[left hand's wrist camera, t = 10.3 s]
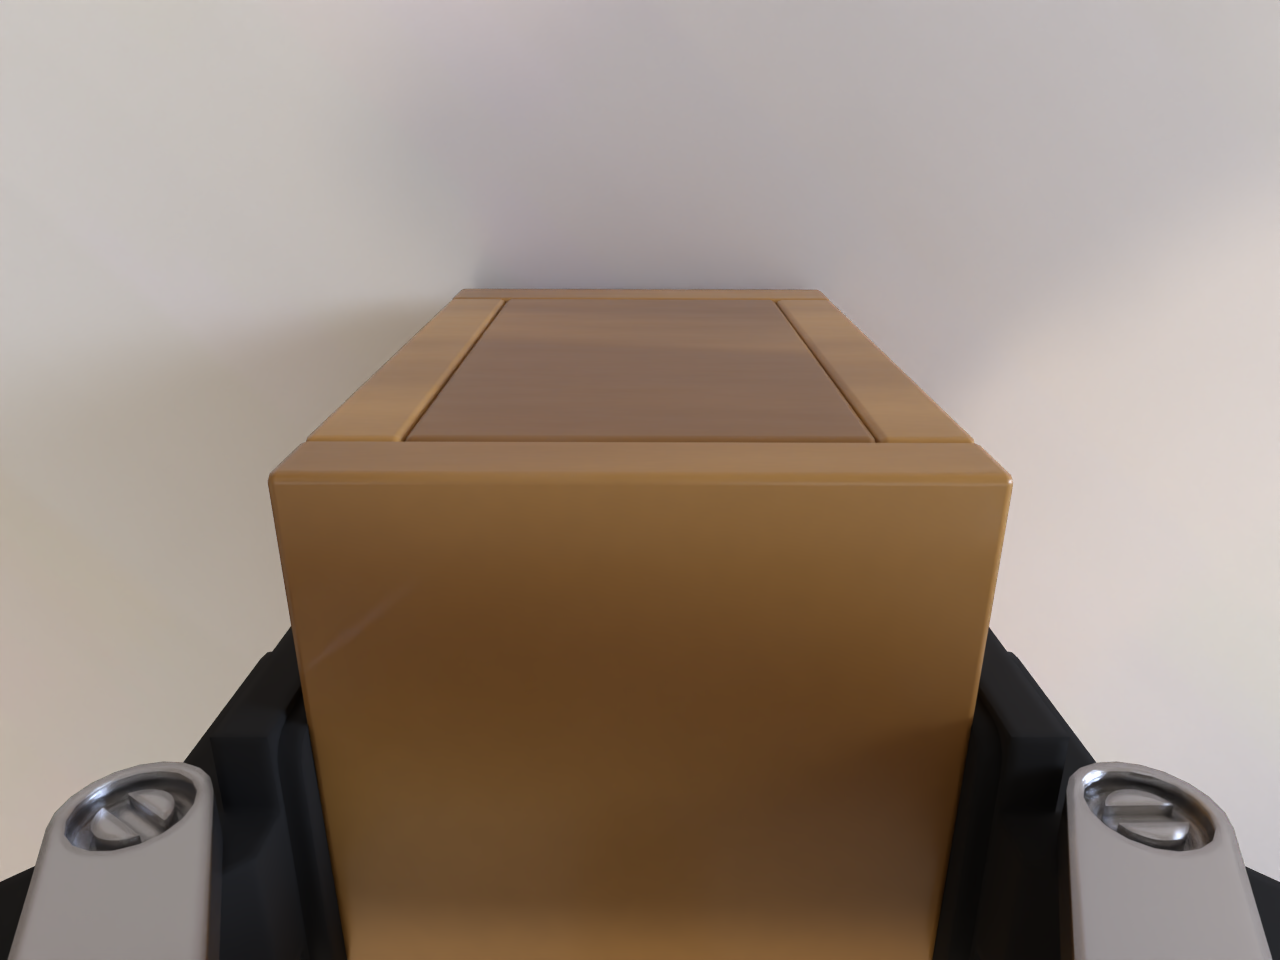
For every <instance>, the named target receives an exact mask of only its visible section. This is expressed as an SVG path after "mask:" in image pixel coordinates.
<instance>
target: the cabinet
mask: <svg viewBox="0 0 1280 960" xmlns="http://www.w3.org/2000/svg"><path fill="white" fill-rule="evenodd" d="M268 486H269V492H270V498H271V505H272V511H273V517H274V523H275V529H276V535H277V541H278V547H279V553H280V559H281V565H282V571H283V578H284V584H285V590H286V596H287V602H288V608H289V614H290V620H291V626H292V632H293V638H294V645H295V651H296V657H297V663H298V669H299V675H300V681H301V687H302V693H303V699H304V705H305V711H306V718H307V724H308V728H309V734H310V740H311V746H312V752H313V758H314V764H315V770H316V776H317V782H318V788H319V794H320V800H321V806H322V812H323V818H324V824H325V830H326V836H327V842H328V848H329V854H330V860H331V866H332V872H333V878H334V884H335V890H336V896H337V902H338V908H339V914H340V920H341V926H342V932H343V938H344V944H345V950H346V956H347V960H932V958H933V952H934V946H935V940H936V934H937V928H938V922H939V916H940V911H941V905H942V899H943V893H944V887H945V881H946V875H947V869H948V864H949V858H950V852H951V846H952V840H953V834H954V828H955V822H956V816H957V810H958V804H959V798H960V792H961V786H962V780H963V774H964V768H965V762H966V756H967V750H968V744H969V738H970V732H971V726H972V722H973V716H974V711H975V705H976V699H977V693H978V687H979V681H980V675H981V669H982V664H983V658H984V652H985V646H986V640H987V634H988V628H989V622H990V616H991V611H992V605H993V599H994V593H995V587H996V581H997V575H998V569H999V564H1000V558H1001V552H1002V546H1003V540H1004V534H1005V528H1006V522H1007V516H1008V511H1009V505H1010V499H1011V493H1012V487H1013V481H1012V477H1011V475H1010V474H1009V473H1008V472H1007V471H1006V470H1005V469H1004V468H1003V467H1002V466H1001V465H1000V464H999V463H998V462H997V461H996V460H994V459H993V458H992V457H991V456H990V455H989V454H988V453H987V452H986V451H985V450H984V449H983V448H982V447H981V446H979V445H977V444H975V443H974V440H973V438H972V437H971V436H970V435H969V434H967V433H966V432H965V431H964V430H963V429H962V428H961V427H960V426H959V425H958V424H957V423H956V422H955V421H954V420H953V419H952V418H951V417H950V416H949V415H948V414H947V413H946V412H945V411H944V410H943V409H941V408H940V407H939V406H938V405H937V404H936V403H935V402H934V401H933V400H932V399H931V398H930V397H929V396H928V395H927V394H926V393H925V392H924V391H923V390H922V389H921V388H920V387H919V386H918V385H917V384H915V383H914V382H913V381H912V380H911V379H910V378H909V377H908V376H907V375H906V374H905V373H904V372H903V371H902V370H901V369H900V368H899V367H898V366H897V365H896V364H895V363H894V362H893V361H892V360H891V359H889V358H888V357H887V356H886V355H885V354H884V353H883V352H882V351H881V350H880V349H879V348H878V347H877V346H876V345H875V344H874V343H873V342H872V341H871V340H870V339H869V338H868V337H867V336H866V335H865V334H863V333H862V332H861V331H860V330H859V329H858V328H857V327H856V326H855V325H854V324H853V323H852V322H851V321H850V320H849V319H848V318H847V317H846V316H845V315H844V314H843V313H842V312H841V311H840V310H838V309H837V308H836V307H835V306H834V305H833V304H832V303H831V302H830V301H829V299H828V298H827V297H826V296H825V295H824V294H823V293H822V292H820V291H819V290H679V289H463V290H461V291H460V292H459V293H458V294H457V295H456V296H455V297H454V298H453V300H451V301H450V302H449V303H448V304H447V305H446V306H445V307H444V308H443V309H442V310H441V311H440V312H439V313H438V314H437V315H436V316H434V317H433V318H432V319H431V320H430V321H429V322H428V323H427V324H426V325H425V326H424V327H423V328H422V329H421V330H420V331H419V332H418V333H417V334H416V335H415V336H413V337H412V338H411V339H410V340H409V341H408V342H407V343H406V344H405V345H404V346H403V347H402V348H401V349H400V350H399V351H398V352H397V353H396V354H395V355H393V356H392V357H391V358H390V359H389V360H388V361H387V362H386V363H385V364H384V365H383V366H382V367H381V368H380V369H379V370H378V371H377V372H376V373H375V374H374V375H372V376H371V377H370V378H369V379H368V380H367V381H366V382H365V383H364V384H363V385H362V386H361V387H360V388H359V389H358V390H357V391H356V392H355V393H354V394H352V395H351V396H350V397H349V398H348V399H347V400H346V401H345V402H344V403H343V404H342V405H341V406H340V407H339V408H338V409H337V410H336V411H335V412H334V413H332V414H331V415H330V416H329V417H328V418H327V419H326V420H325V421H324V422H323V423H322V424H321V425H320V426H319V427H318V428H317V429H316V430H315V431H314V432H313V433H311V434H310V435H309V436H308V437H307V440H306V442H305V443H302V444H300V445H299V446H298V447H297V448H296V449H295V450H294V451H293V452H292V453H291V454H290V455H289V456H288V457H287V458H285V459H284V460H283V461H282V462H281V463H280V464H279V465H278V466H277V467H276V468H275V469H274V470H273V471H272V472H271V473H270V475H269V478H268Z"/></svg>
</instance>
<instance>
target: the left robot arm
mask: <svg viewBox="0 0 1280 960" xmlns="http://www.w3.org/2000/svg"><path fill="white" fill-rule="evenodd" d="M0 960H347V956H346V950H345V944H344V938H343V932H342V926H341V920H340V914H339V908H338V902H337V896H336V890H335V884H334V878H333V872H332V866H331V860H330V854H329V848H328V842H327V836H326V830H325V824H324V818H323V812H322V806H321V800H320V794H319V788H318V782H317V776H316V770H315V764H314V758H313V752H312V746H311V740H310V734H309V728H308V724H307V718H306V711H305V705H304V699H303V693H302V687H301V681H300V675H299V669H298V663H297V657H296V651H295V645H294V638H293V632H292V626H291V627H290V628H289V630H288V631H287V632H286V634H285V635H284V637H283V638H282V639H281V641H280V642H279V643H278V645H277V646H276V647H275V649H274V650H273V652H267V653H266V654H265V655H264V656H263V657H262V658H261V659H260V661H259V662H258V663H257V665H256V666H255V667H254V669H253V670H252V671H251V673H250V674H249V675H248V677H247V678H246V679H245V681H244V682H243V683H242V685H241V686H240V687H239V689H238V690H237V691H236V693H235V694H234V695H233V697H232V698H231V699H230V701H229V702H228V703H227V705H226V706H225V707H224V709H223V710H222V711H221V713H220V714H219V715H218V717H217V718H216V719H215V721H214V722H213V723H212V725H211V726H210V727H209V729H208V730H207V731H206V733H205V734H204V735H203V737H202V738H201V739H200V741H199V742H198V743H197V745H196V746H195V747H194V749H193V750H192V752H191V753H190V754H189V756H188V757H187V758H186V760H185V761H184V762H183V763H180V762H157V763H150V764H142V765H138V766H134V767H131V768H128V769H124V770H121V771H117V772H114V773H112V774H110V775H108V776H106V777H104V778H102V779H99V780H97V781H95V782H93V783H91V784H89V785H88V786H86V787H85V788H83V789H82V790H80V791H79V792H77V793H76V794H74V795H73V796H71V797H70V798H69V799H68V800H67V801H66V802H65V803H64V804H63V805H62V806H61V807H60V808H59V809H58V810H57V811H56V812H55V813H54V815H53V817H52V819H51V821H50V823H49V824H48V826H47V828H46V831H45V834H44V838H43V841H42V844H41V848H40V851H39V855H38V858H37V862H36V865H35V866H34V867H32V868H30V869H28V870H25V871H23V872H21V873H19V874H17V875H14V876H12V877H10V878H8V879H6V880H4V881H1V882H0ZM932 960H1280V882H1278V881H1276V880H1274V879H1272V878H1270V877H1267V876H1265V875H1263V874H1261V873H1259V872H1256V871H1254V870H1252V869H1250V868H1248V867H1245V865H1244V862H1243V858H1242V855H1241V851H1240V848H1239V844H1238V841H1237V838H1236V834H1235V831H1234V828H1233V826H1232V824H1231V823H1230V821H1229V819H1228V817H1227V815H1226V813H1225V812H1224V811H1223V810H1222V809H1221V808H1220V807H1219V806H1218V805H1217V804H1216V803H1215V802H1214V801H1213V800H1212V799H1211V798H1210V797H1209V796H1207V795H1206V794H1204V793H1203V792H1201V791H1200V790H1198V789H1197V788H1195V787H1194V786H1192V785H1191V784H1189V783H1187V782H1185V781H1183V780H1181V779H1178V778H1176V777H1174V776H1172V775H1170V774H1168V773H1166V772H1163V771H1159V770H1156V769H1152V768H1149V767H1146V766H1142V765H1138V764H1130V763H1123V762H1100V763H1096V762H1095V760H1094V759H1093V758H1092V756H1091V755H1090V754H1089V752H1088V751H1087V750H1086V748H1085V747H1084V746H1083V744H1082V743H1081V742H1080V740H1079V739H1078V738H1077V736H1076V735H1075V734H1074V732H1073V731H1072V730H1071V728H1070V727H1069V726H1068V724H1067V723H1066V722H1065V720H1064V719H1063V717H1062V716H1061V715H1060V713H1059V712H1058V711H1057V709H1056V708H1055V707H1054V705H1053V704H1052V703H1051V701H1050V700H1049V699H1048V697H1047V696H1046V695H1045V693H1044V692H1043V691H1042V689H1041V688H1040V687H1039V685H1038V684H1037V683H1036V681H1035V680H1034V679H1033V677H1032V676H1031V675H1030V673H1029V672H1028V671H1027V669H1026V668H1025V667H1024V665H1023V664H1022V663H1021V661H1020V660H1019V659H1018V658H1017V657H1016V656H1015V655H1014V654H1013V653H1012V652H1007V651H1006V650H1005V648H1004V647H1003V646H1002V644H1001V643H1000V641H999V640H998V639H997V637H996V636H995V635H994V633H993V632H992V631H991V629H990V628H988V634H987V640H986V646H985V652H984V658H983V664H982V669H981V675H980V681H979V687H978V693H977V699H976V705H975V711H974V716H973V722H972V726H971V732H970V738H969V744H968V750H967V756H966V762H965V768H964V774H963V780H962V786H961V792H960V798H959V804H958V810H957V816H956V822H955V828H954V834H953V840H952V846H951V852H950V858H949V864H948V869H947V875H946V881H945V887H944V893H943V899H942V905H941V911H940V916H939V922H938V928H937V934H936V940H935V946H934V952H933V958H932Z"/></svg>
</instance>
